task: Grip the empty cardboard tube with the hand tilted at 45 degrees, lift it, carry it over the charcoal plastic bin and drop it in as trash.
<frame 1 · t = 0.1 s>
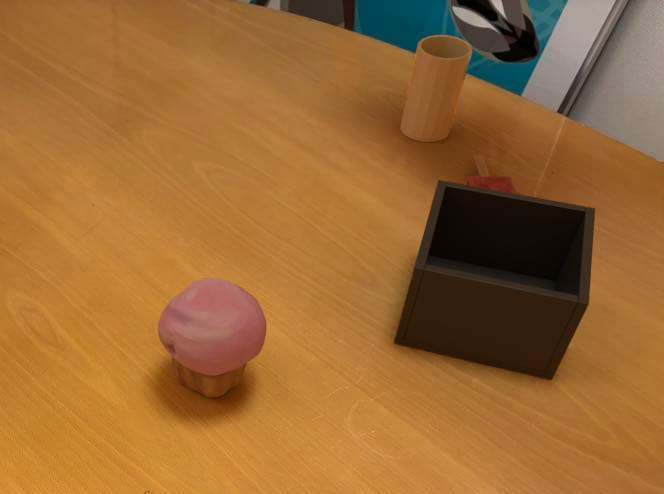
bin: (479, 312, 81), on the table
cardboard tube: (424, 129, 103), on the table
cupcake: (209, 382, 77), on the table
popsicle: (489, 204, 93), on the table
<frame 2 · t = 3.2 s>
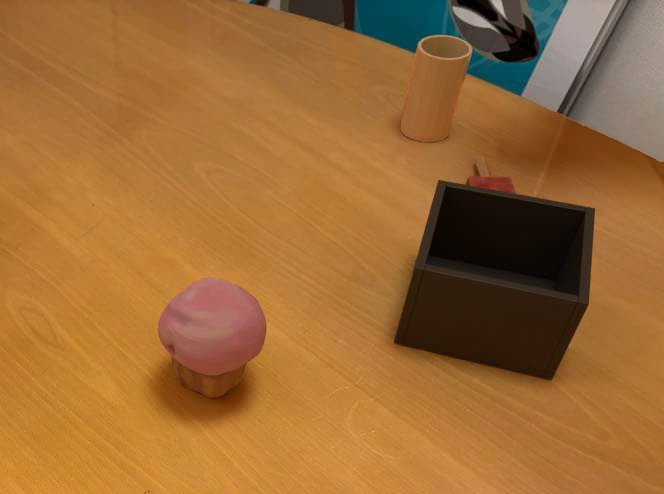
nothing on the table moved.
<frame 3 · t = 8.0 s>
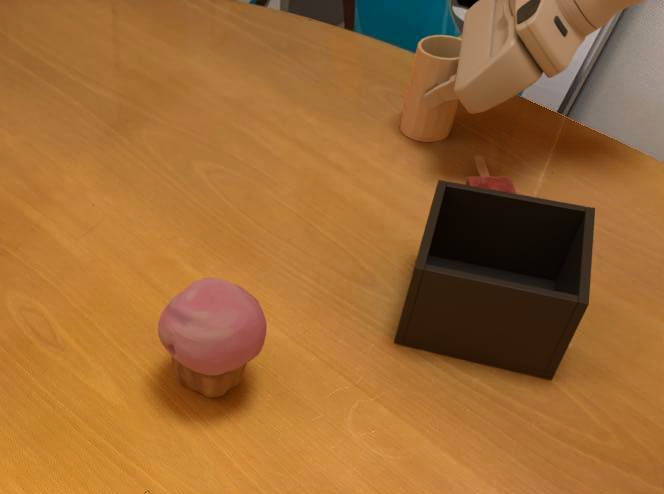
hand: (429, 85, 99), 5 cm above the table, tool tilted 45°, fingers closed on cardboard tube, 6 cm apart
cardboard tube: (424, 129, 103), on the table, touching gripper
everything else where it was.
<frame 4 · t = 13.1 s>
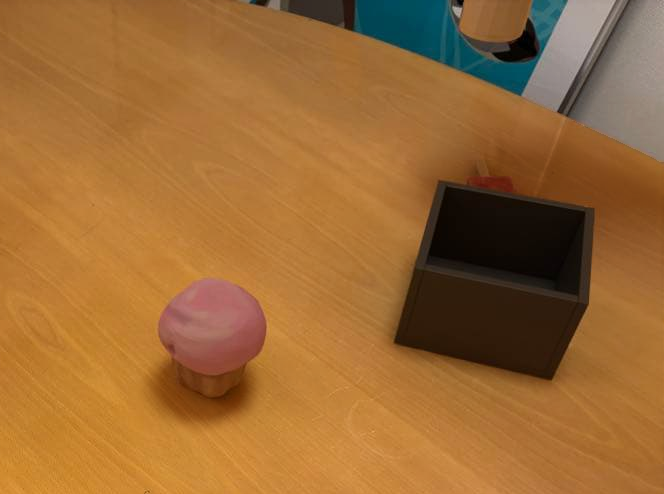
cardboard tube: (490, 28, 81), point 18 cm above the table, touching gripper
everything else where it was.
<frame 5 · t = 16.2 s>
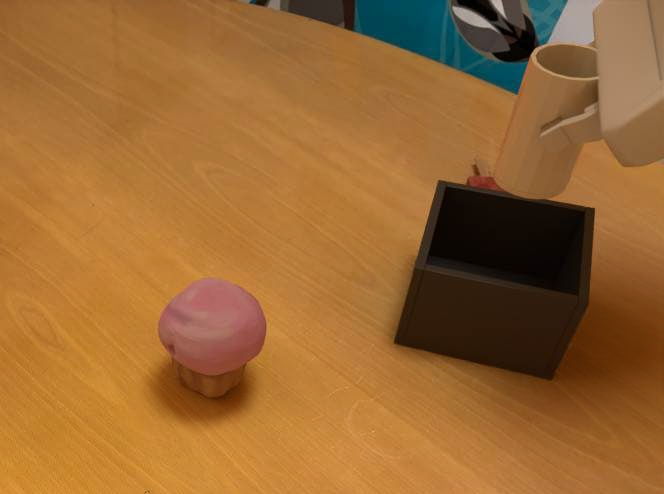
hand: (543, 118, 67), 20 cm above the table, tool tilted 45°, fingers closed on cardboard tube, 6 cm apart
cardboard tube: (529, 179, 71), point 15 cm above the table, touching gripper
everything else where it was.
when the fingers open (14 cm above the table, at t = 18.4 s): cardboard tube drops 8 cm, resting on bin.
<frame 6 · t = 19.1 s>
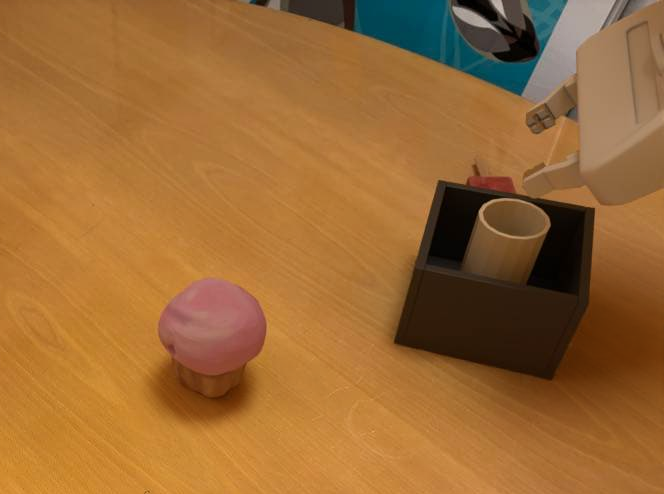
hand: (527, 154, 69), 17 cm above the table, tool tilted 45°, fingers open, 8 cm apart
cardboard tube: (481, 306, 81), point 1 cm above the table, touching bin
everything else where it was.
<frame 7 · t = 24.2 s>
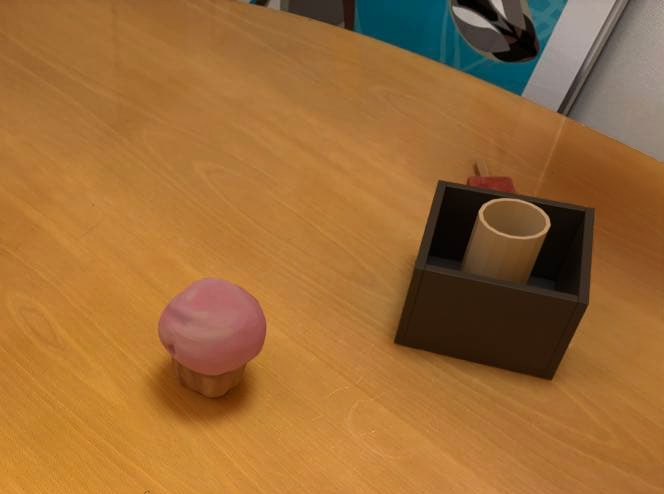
nothing on the table moved.
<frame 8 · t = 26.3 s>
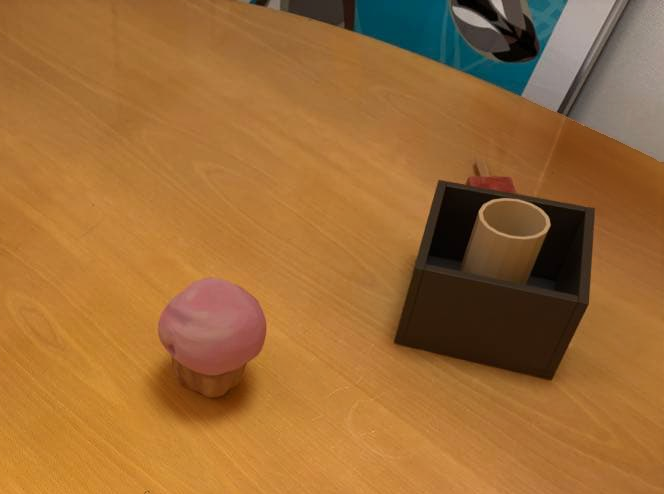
nothing on the table moved.
at the end: cardboard tube inside the target area in the bin (0.1 cm from its centre), point 0.8 cm above the bin's base; the gripper is holding nothing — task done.
